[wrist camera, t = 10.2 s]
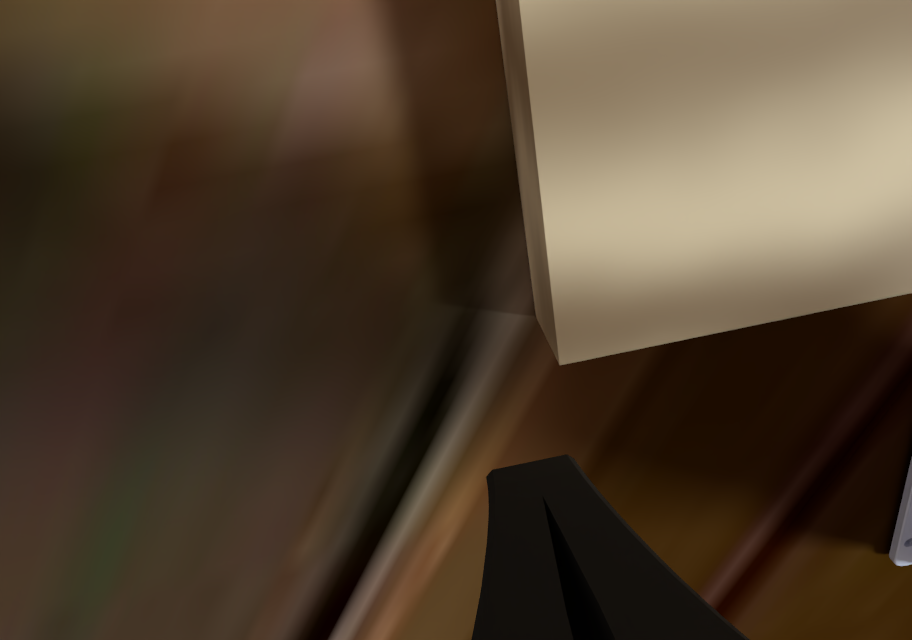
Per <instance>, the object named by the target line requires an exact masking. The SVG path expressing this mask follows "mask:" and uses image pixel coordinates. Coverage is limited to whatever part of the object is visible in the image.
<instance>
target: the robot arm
mask: <svg viewBox="0 0 912 640" xmlns="http://www.w3.org/2000/svg"><path fill="white" fill-rule="evenodd" d="M486 478H487V484H488V495H489V521H488V536H487V547H486V555H485V563H484V572H483V580H482V587H481V593H480V599H479V604H478V609H477V615H476V620H475V625H474V630H473V635H472V640H749V639H748V638H747V637H746V636H745V635H743V634H742V633H741V632H740V631H739V630H738V629H736V628H735V627H734V626H733V625H732V624H731V623H729V622H728V621H727V620H726V619H725V618H724V617H723V616H721V615H720V614H719V613H718V612H717V611H716V610H715V609H714V608H712V607H711V606H710V605H709V604H708V603H707V602H706V601H705V600H704V599H703V598H701V597H700V596H699V595H698V594H697V593H696V592H695V591H694V590H693V589H692V588H691V587H690V586H689V585H687V584H686V583H685V582H684V581H683V580H682V579H681V578H680V577H679V576H678V575H677V574H676V573H675V572H674V571H673V570H672V569H671V568H670V567H669V566H668V565H667V564H666V563H665V562H664V561H663V560H662V559H661V558H660V557H659V556H658V555H657V554H656V553H655V552H654V551H653V550H652V549H651V548H650V547H649V546H648V545H647V544H646V543H645V542H644V541H643V540H642V539H641V538H640V537H639V536H638V535H637V534H636V533H635V531H634V530H633V529H632V528H631V527H630V526H629V525H628V524H627V523H626V522H625V521H624V520H623V519H622V517H621V516H620V515H619V514H618V513H617V512H616V511H615V510H614V508H613V507H612V506H611V505H610V504H609V503H608V501H607V500H606V499H605V498H604V497H603V496H602V494H601V493H600V492H599V491H598V490H597V488H596V487H595V486H594V485H593V483H592V482H591V481H590V480H589V478H588V477H587V476H586V475H585V473H584V472H583V471H582V469H581V468H580V467H579V465H578V464H577V462H576V461H575V459H574V458H572V457H570V456H569V455H562V456H557V457H552V458H547V459H543V460H538V461H533V462H528V463H523V464H519V465H514V466H509V467H504V468H499V469H495V470H492V471H491V472H490V473H489V474H488V476H487V477H486ZM889 558H890V559H891V560H892V561H893V562H894V563H895V564H896V565H898V566H906V565H910V564H912V458H911V462H910V466H909V470H908V475H907V479H906V483H905V488H904V492H903V496H902V501H901V505H900V509H899V514H898V518H897V522H896V527H895V531H894V535H893V540H892V544H891V548H890V553H889Z"/></svg>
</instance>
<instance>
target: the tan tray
mask: <svg viewBox="0 0 912 640" xmlns="http://www.w3.org/2000/svg"><path fill="white" fill-rule="evenodd" d="M496 7H497V15H498V23H499V31H500V39H501V47H502V54H503V62H504V70H505V78H506V86H507V94H508V102H509V109H510V117H511V125H512V133H513V141H514V149H515V157H516V164H517V172H518V180H519V188H520V196H521V204H522V212H523V219H524V227H525V235H526V243H527V251H528V259H529V267H530V274H531V282H532V290H533V298H534V306H535V314H536V318H537V320H538V322H539V324H540V326H541V328H542V331H543V333H544V335H545V337H546V339H547V341H548V343H549V345H550V347H551V349H552V351H553V353H554V355H555V357H556V359H557V361H558V363H559V365H565V364H569V363H574V362H579V361H584V360H589V359H594V358H598V357H603V356H608V355H613V354H618V353H623V352H628V351H632V350H637V349H642V348H647V347H652V346H657V345H662V344H666V343H671V342H676V341H681V340H686V339H691V338H696V337H700V336H705V335H710V334H715V333H720V332H725V331H729V330H734V329H739V328H744V327H749V326H754V325H759V324H763V323H768V322H773V321H778V320H783V319H788V318H793V317H797V316H802V315H807V314H812V313H817V312H822V311H826V310H831V309H836V308H841V307H846V306H851V305H856V304H860V303H865V302H870V301H875V300H880V299H885V298H890V297H894V296H899V295H904V294H909V293H912V0H496Z"/></svg>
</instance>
